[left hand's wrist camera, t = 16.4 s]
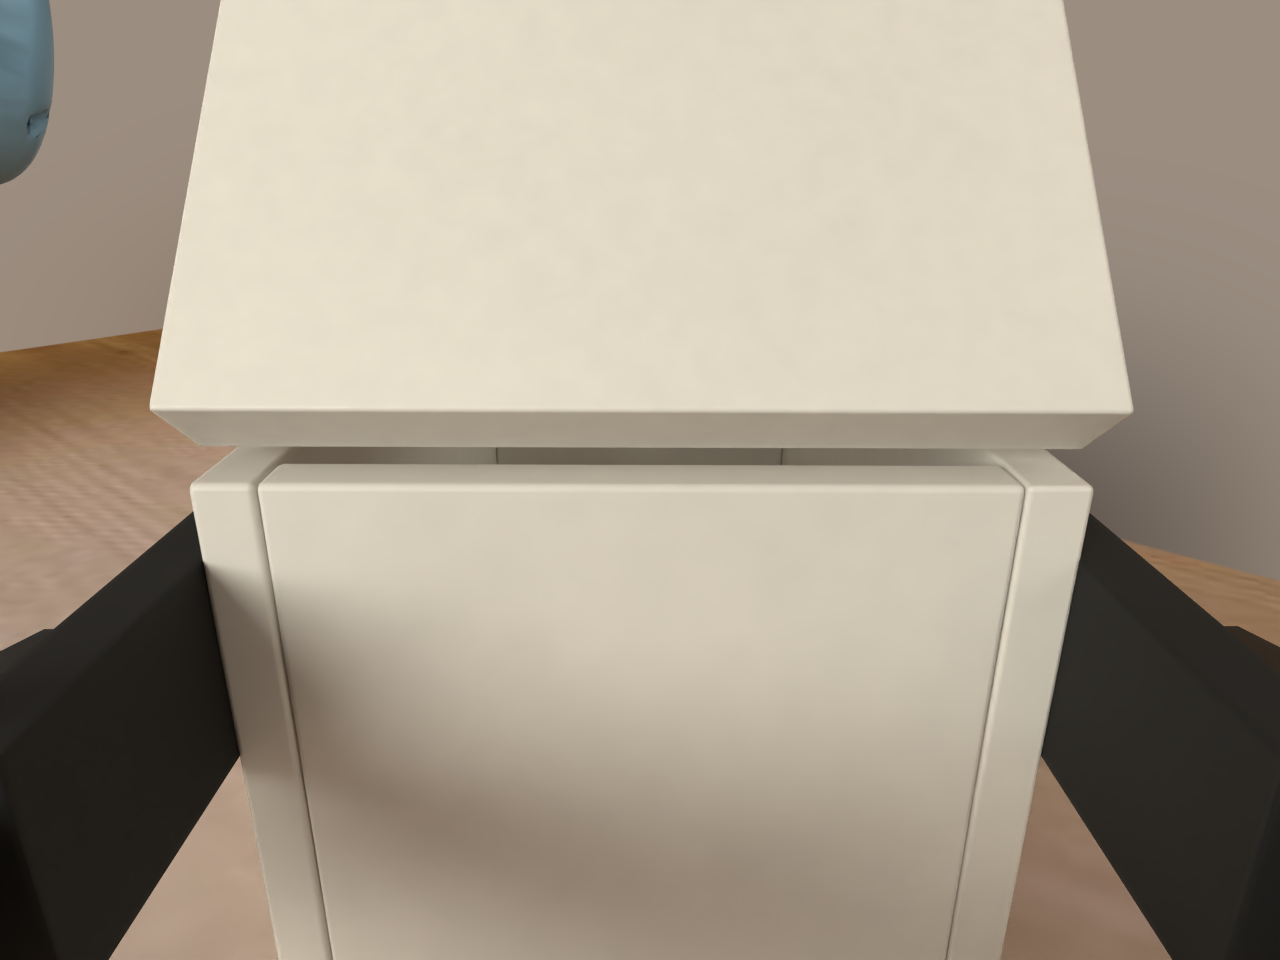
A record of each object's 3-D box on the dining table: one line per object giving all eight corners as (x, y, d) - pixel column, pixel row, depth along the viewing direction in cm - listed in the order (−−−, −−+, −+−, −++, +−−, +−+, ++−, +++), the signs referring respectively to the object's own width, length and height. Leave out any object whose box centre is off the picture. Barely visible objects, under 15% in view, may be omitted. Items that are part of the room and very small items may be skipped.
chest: (482, 564, 29) (463, 267, 26) (795, 565, 29) (816, 268, 26) (297, 1077, 13) (184, 484, 10) (978, 1078, 13) (1096, 486, 10)
